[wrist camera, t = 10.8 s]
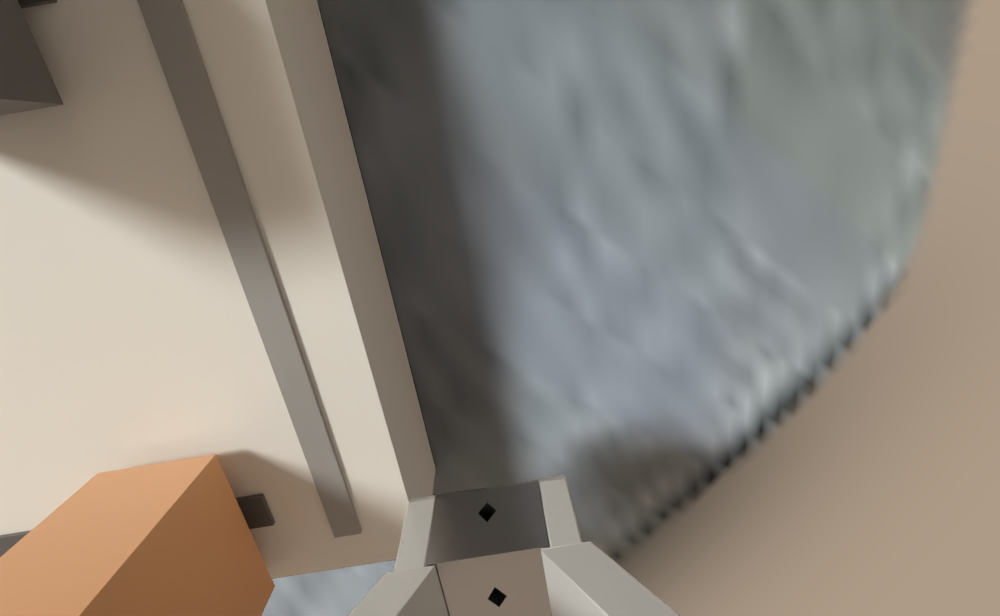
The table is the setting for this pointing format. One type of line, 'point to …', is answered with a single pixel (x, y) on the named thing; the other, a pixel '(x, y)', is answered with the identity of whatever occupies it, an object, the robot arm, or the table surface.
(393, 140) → the table surface
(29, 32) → the fader
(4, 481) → the mixer console
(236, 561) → the fader
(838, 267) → the table surface
